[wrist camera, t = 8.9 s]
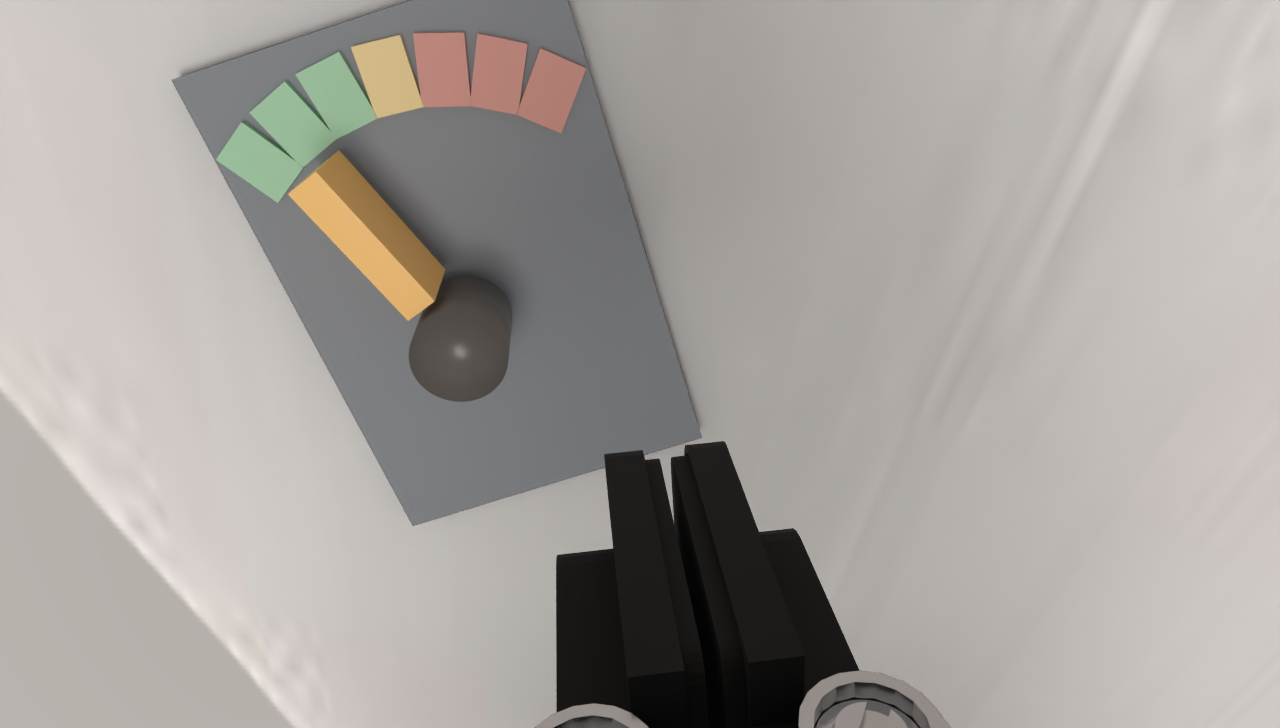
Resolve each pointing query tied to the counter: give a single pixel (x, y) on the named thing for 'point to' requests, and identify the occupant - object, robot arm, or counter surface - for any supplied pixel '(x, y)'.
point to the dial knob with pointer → (414, 285)
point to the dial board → (459, 236)
